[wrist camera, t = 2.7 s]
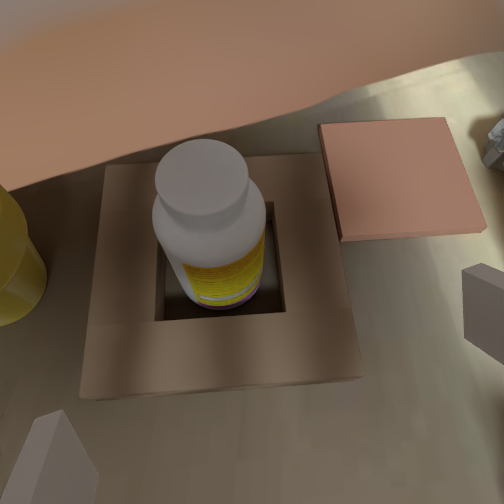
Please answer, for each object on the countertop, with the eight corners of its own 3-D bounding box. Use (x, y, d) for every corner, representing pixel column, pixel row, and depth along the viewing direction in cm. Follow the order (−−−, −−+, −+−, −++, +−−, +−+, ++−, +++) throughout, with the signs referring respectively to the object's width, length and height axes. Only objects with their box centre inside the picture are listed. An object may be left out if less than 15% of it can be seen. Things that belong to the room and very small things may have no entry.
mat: (340, 241, 31) (342, 236, 30) (318, 131, 36) (320, 124, 35) (480, 232, 32) (487, 226, 31) (440, 124, 37) (444, 117, 36)
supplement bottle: (280, 273, 30) (297, 175, 18) (219, 330, 28) (195, 262, 16) (223, 221, 32) (207, 104, 20) (163, 271, 30) (107, 173, 18)
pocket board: (97, 400, 26) (79, 397, 23) (117, 186, 34) (105, 165, 31) (353, 380, 27) (364, 375, 24) (316, 174, 34) (321, 152, 31)
